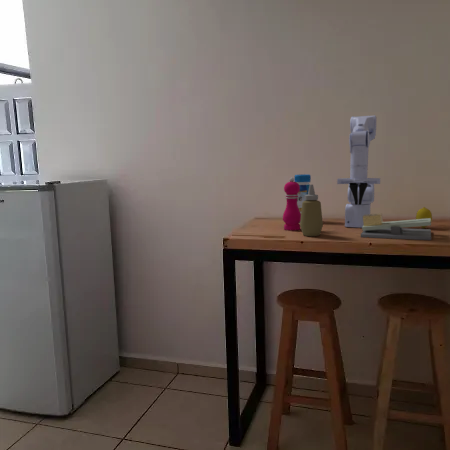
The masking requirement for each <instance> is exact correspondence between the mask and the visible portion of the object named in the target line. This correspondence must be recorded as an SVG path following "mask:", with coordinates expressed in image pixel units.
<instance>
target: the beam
mask: <svg viewBox="0 0 450 450" xmlns="http://www.w3.org/2000/svg"><path fill="white" fill-rule="evenodd" d="M391 226H395V227H400V228H414V227H421V226H427V227H429V226H432V221H431V218H427V219H416V218H413V219H406V220H393V221H392V220H391V221H383V223H382V225H374V226H364V225H363V227H361V230H362V232H363V231H364V230H377V229H391Z"/></svg>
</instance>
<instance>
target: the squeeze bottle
mask: <svg viewBox="0 0 450 450" xmlns="http://www.w3.org/2000/svg"><path fill="white" fill-rule="evenodd" d="M299 224H300V230H301V232H302V235H303V236H306V237H317V236H320V235H321V233H322V229H323V227H324V221H323V213H322V204H321V201H320V200H319V195H318V194H316V192H315V187H314V184H310V186H309V191H308V195H305V201H303V202H302V211H301V221H300V223H299Z"/></svg>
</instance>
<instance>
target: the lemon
mask: <svg viewBox="0 0 450 450" xmlns="http://www.w3.org/2000/svg"><path fill="white" fill-rule="evenodd" d="M427 218H431V222H432V221H433V214H432V211H431V209H429V208H427V207H425V206H423V207H422V208H420V209H418V211H417V212H416V214H415V219H427ZM420 227H421V229H425V228H427V227H428V226H420Z"/></svg>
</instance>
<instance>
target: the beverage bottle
mask: <svg viewBox="0 0 450 450" xmlns="http://www.w3.org/2000/svg"><path fill="white" fill-rule="evenodd" d="M311 176H312V175H311V174H305V173H304V174H294V177H293V178H294V182H296V183H298V184H299V186H300V191H299V192H298V197H299V198H297V205H298V208H299V211H300V213H301V211H302V202H303V201H305V195H308V191H309V186H310V185H311V184H310V183H311V180H312V179H311ZM299 224H300V222H299Z"/></svg>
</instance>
